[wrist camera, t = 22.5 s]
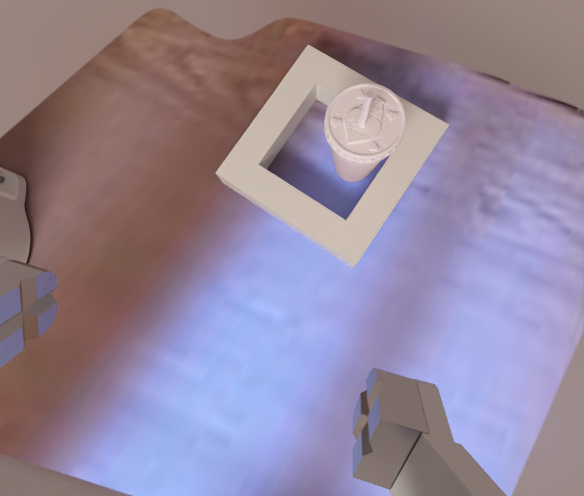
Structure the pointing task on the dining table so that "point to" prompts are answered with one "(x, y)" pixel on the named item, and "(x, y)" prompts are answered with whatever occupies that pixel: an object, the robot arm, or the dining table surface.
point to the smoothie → (363, 128)
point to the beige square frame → (298, 206)
